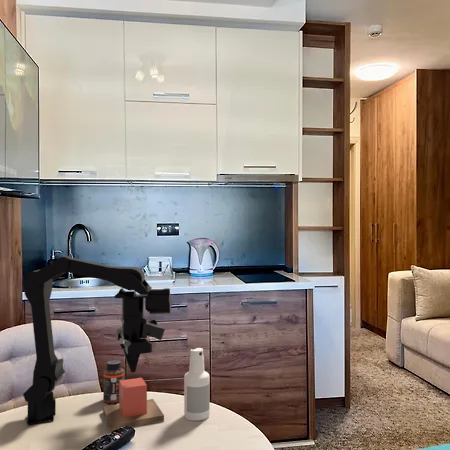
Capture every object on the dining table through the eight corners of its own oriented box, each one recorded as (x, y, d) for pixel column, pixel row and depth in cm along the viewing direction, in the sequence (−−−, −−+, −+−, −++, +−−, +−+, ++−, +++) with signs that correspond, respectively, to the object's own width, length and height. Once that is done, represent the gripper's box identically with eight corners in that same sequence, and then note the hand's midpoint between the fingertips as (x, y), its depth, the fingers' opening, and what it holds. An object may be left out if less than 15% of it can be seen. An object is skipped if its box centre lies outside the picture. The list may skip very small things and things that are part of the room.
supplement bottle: (118, 405, 127) (118, 365, 127) (99, 403, 128) (99, 364, 128) (127, 397, 133) (127, 359, 133) (109, 395, 134) (108, 358, 134)
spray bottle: (194, 423, 114) (194, 354, 115) (179, 415, 120) (179, 349, 120) (214, 416, 119) (214, 349, 119) (199, 408, 124) (199, 344, 124)
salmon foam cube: (123, 417, 115) (123, 388, 115) (119, 408, 121) (119, 380, 121) (146, 413, 117) (146, 384, 117) (141, 404, 123) (141, 377, 123)
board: (109, 430, 111) (109, 424, 111) (103, 412, 122) (103, 406, 122) (164, 420, 116) (164, 415, 116) (153, 404, 127) (153, 398, 127)
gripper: (171, 318, 114) (171, 378, 114) (153, 306, 131) (153, 359, 131) (128, 322, 109) (128, 385, 109) (115, 309, 126) (115, 363, 126)
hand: (133, 372), depth 119 cm, fingers closed
